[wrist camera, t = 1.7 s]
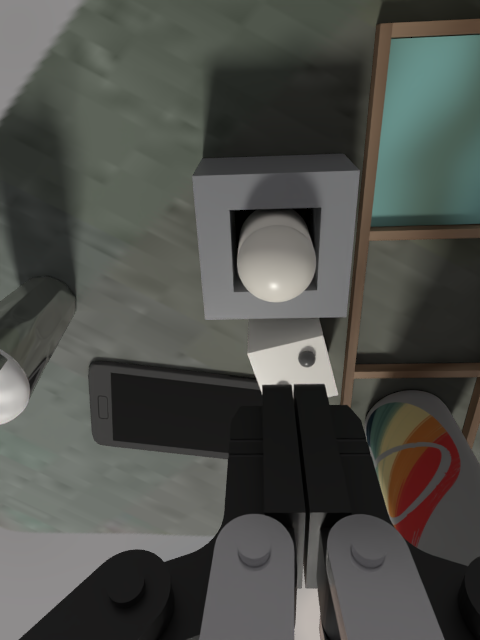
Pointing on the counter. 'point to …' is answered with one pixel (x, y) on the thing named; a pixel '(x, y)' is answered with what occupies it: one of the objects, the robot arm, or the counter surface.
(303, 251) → the dome
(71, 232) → the counter surface
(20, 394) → the milkshake
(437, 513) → the lotion bottle
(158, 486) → the counter surface
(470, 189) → the track
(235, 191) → the button box
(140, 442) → the cell phone
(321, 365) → the die
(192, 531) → the counter surface
